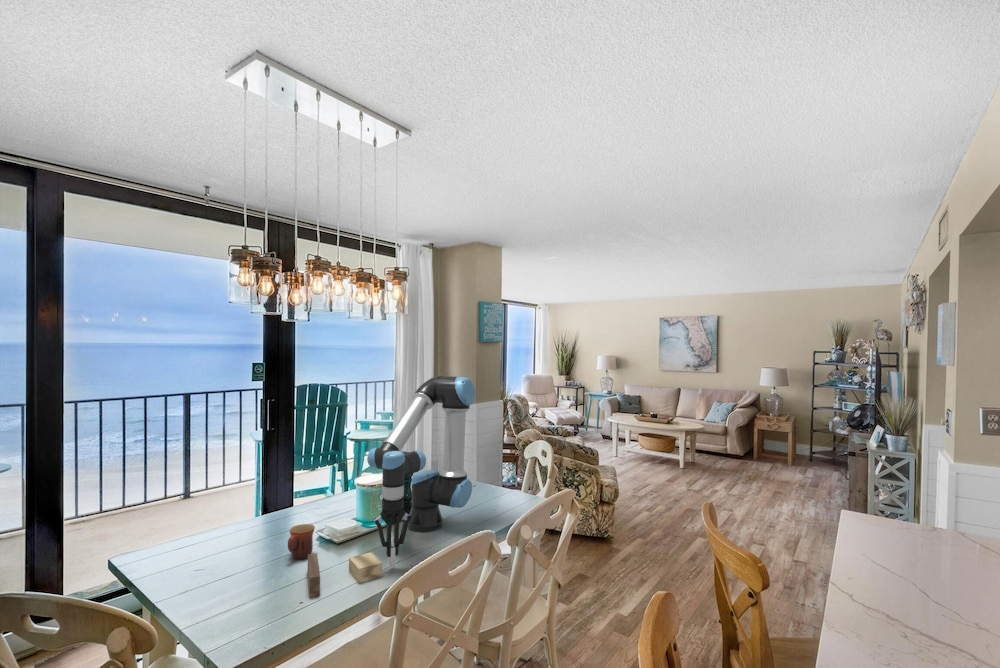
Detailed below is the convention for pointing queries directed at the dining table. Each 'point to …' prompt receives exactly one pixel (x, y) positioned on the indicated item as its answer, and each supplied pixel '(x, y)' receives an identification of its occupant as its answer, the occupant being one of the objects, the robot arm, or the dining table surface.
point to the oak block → (365, 567)
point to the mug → (301, 541)
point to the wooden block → (313, 575)
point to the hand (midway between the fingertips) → (392, 565)
